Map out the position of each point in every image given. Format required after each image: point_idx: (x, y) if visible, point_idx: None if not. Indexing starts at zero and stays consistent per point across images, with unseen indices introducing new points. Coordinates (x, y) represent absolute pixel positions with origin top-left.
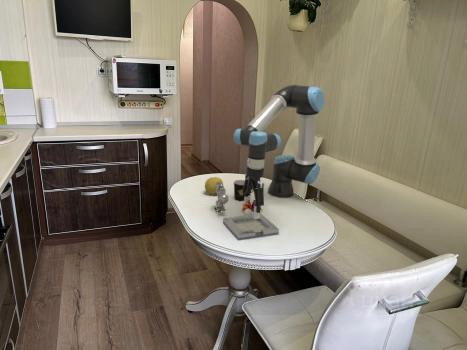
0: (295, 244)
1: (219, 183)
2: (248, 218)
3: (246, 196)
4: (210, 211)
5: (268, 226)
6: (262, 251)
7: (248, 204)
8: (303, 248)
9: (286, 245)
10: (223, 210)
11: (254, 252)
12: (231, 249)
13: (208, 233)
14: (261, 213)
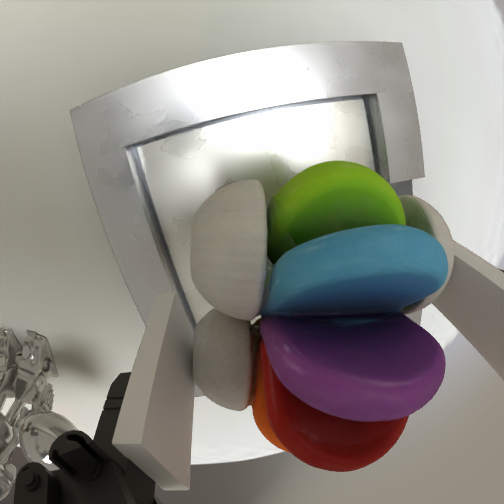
0: (475, 36)
1: None
2: (155, 233)
3: (148, 477)
4: (63, 395)
5: (341, 96)
6: (501, 225)
7: (239, 382)
8: (497, 30)
9: (485, 85)
10: (43, 354)
11: (495, 261)
12: (449, 343)
13: None
14: (438, 213)
